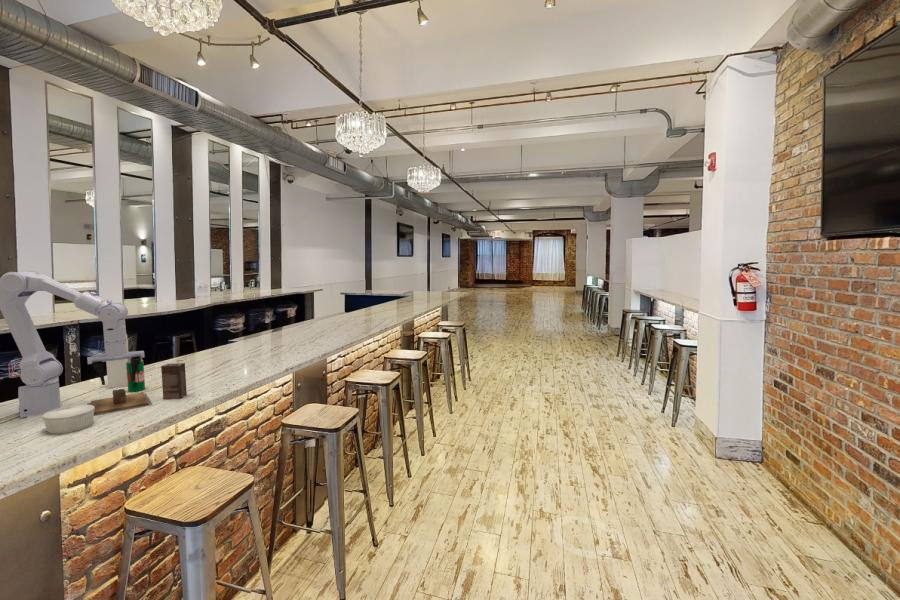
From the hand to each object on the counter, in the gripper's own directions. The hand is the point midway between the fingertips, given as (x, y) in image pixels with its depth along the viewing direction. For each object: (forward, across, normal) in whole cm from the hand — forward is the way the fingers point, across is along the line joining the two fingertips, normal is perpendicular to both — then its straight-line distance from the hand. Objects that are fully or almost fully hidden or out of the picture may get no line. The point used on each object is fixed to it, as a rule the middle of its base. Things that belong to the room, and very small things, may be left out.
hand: (118, 381), depth 140 cm
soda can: (+8, +6, +15) cm, 18 cm away
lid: (+7, 0, 0) cm, 7 cm away
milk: (+8, +2, +28) cm, 29 cm away
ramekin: (+8, -12, -14) cm, 21 cm away
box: (+8, +15, -3) cm, 17 cm away
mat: (+8, 0, 0) cm, 8 cm away
